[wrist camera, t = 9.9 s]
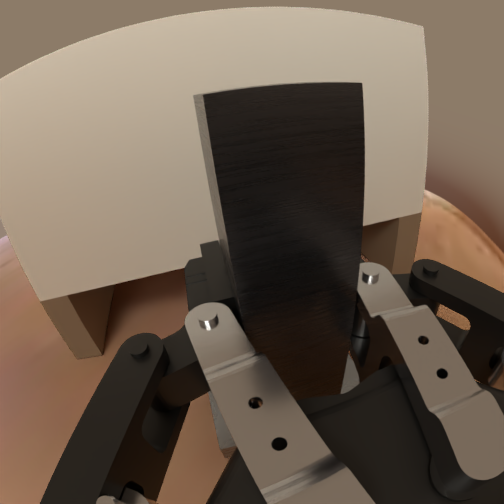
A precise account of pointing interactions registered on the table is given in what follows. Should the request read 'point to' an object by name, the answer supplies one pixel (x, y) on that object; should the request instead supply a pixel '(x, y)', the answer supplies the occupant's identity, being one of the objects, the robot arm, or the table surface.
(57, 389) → the table surface
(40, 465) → the table surface
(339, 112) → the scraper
